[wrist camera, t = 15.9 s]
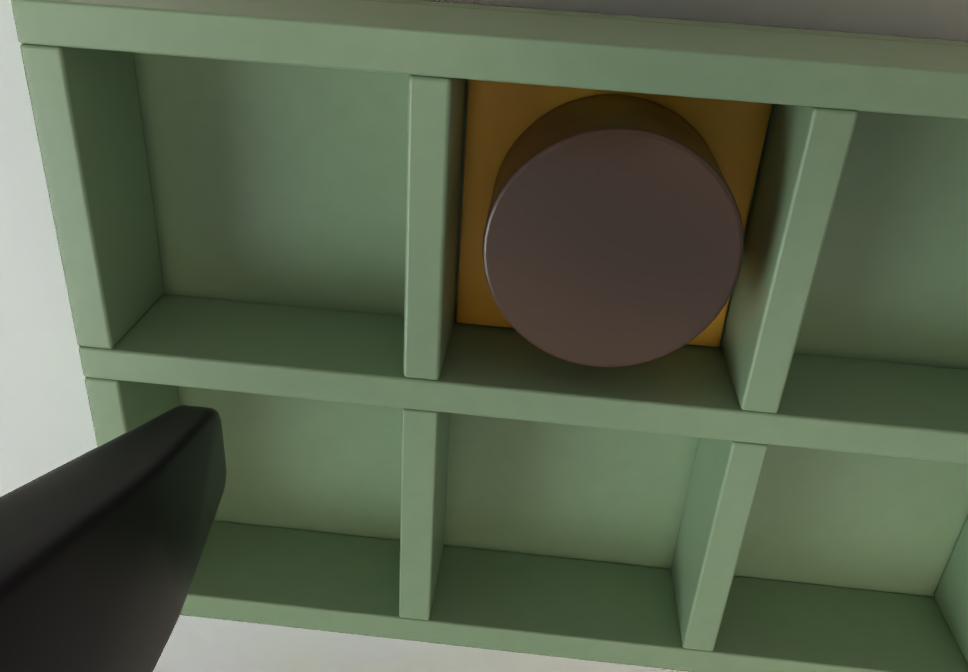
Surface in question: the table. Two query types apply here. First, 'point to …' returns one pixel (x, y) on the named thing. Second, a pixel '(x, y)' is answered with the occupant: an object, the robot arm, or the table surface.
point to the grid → (507, 354)
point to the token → (611, 233)
